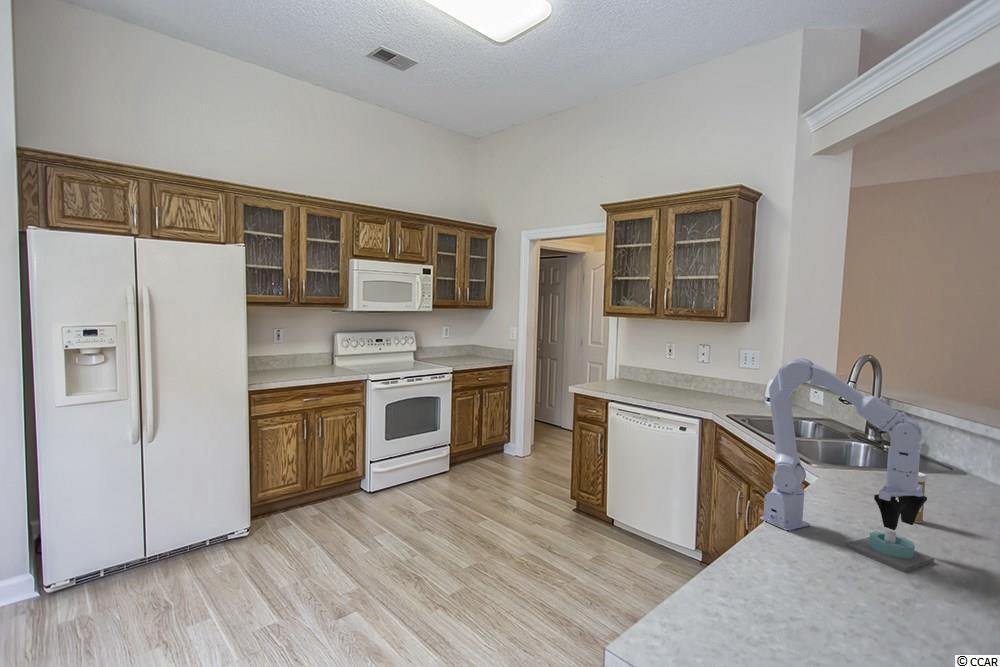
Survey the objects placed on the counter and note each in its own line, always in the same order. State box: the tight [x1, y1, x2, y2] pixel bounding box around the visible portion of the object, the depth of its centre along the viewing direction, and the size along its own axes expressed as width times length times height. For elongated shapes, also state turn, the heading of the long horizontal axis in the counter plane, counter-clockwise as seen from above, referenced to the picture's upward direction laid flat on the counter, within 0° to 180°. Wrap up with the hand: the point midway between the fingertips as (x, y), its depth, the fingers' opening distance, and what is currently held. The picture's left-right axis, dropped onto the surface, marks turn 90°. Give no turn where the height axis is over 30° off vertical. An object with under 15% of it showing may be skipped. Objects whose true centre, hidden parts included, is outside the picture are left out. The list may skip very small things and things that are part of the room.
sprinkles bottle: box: [914, 471, 927, 524], centre depth 134 cm, size 5×5×14 cm
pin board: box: [845, 529, 935, 573], centre depth 113 cm, size 12×12×6 cm
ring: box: [869, 531, 915, 559], centre depth 114 cm, size 8×8×2 cm
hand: (898, 525), depth 114 cm, fingers open, 7 cm apart
